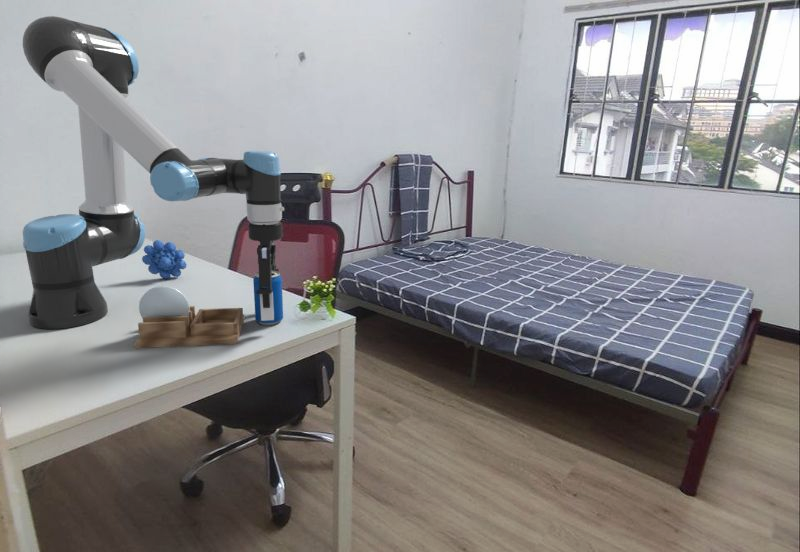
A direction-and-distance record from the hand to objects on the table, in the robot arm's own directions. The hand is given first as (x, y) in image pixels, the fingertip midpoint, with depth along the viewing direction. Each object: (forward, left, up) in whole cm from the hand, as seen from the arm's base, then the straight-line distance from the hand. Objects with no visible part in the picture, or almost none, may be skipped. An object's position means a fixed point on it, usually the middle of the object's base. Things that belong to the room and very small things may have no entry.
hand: (269, 309), depth 111 cm
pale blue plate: (-22, -5, -2) cm, 22 cm away
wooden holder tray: (-16, -5, -3) cm, 17 cm away
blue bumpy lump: (-32, +35, -3) cm, 48 cm away
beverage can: (0, 0, -3) cm, 3 cm away
